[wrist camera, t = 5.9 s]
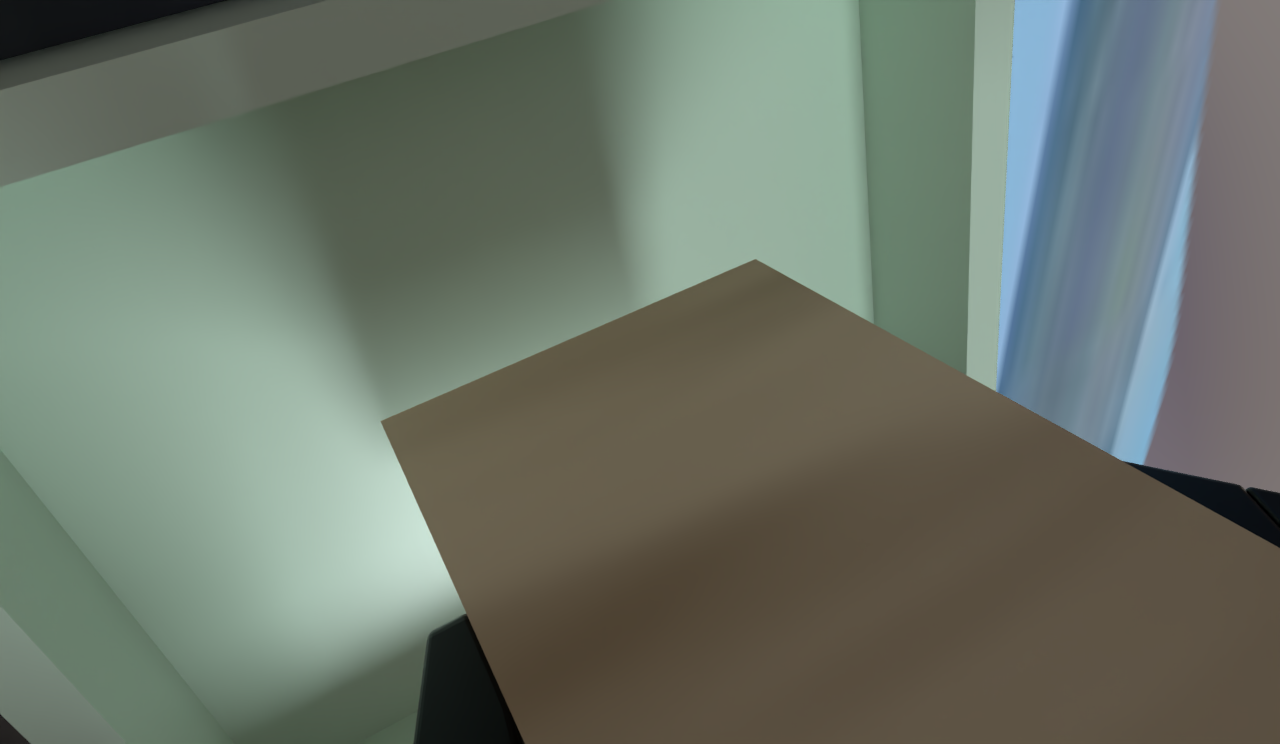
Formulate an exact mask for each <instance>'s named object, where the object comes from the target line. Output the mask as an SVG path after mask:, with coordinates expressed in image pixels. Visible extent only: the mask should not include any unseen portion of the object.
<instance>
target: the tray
mask: <svg viewBox="0 0 1280 744" xmlns="http://www.w3.org/2000/svg"><path fill="white" fill-rule="evenodd" d="M1014 6H1015V0H226V1H222V2H218V3H214V4H211V5H207V6H203V7H199V8H196V9H192V10H188V11H184V12H180V13H177V14H173V15H169V16H165V17H162V18H158V19H154V20H150V21H147V22H143V23H139V24H135V25H132V26H128V27H124V28H120V29H116V30H113V31H109V32H105V33H101V34H98V35H94V36H90V37H86V38H83V39H79V40H75V41H71V42H68V43H64V44H60V45H56V46H53V47H49V48H45V49H41V50H37V51H34V52H30V53H26V54H22V55H19V56H15V57H11V58H7V59H4V60H0V714H1V715H2V716H3V717H4V718H5V719H6V720H7V721H8V722H9V723H10V724H11V725H12V726H13V727H14V728H15V729H16V730H17V731H18V732H19V733H20V734H21V735H22V736H23V737H24V738H25V739H26V740H27V741H28V742H29V743H30V744H413V741H414V734H415V726H416V718H417V710H418V703H419V695H420V687H421V680H422V672H423V664H424V657H425V649H426V642H427V638H428V635H429V634H430V632H431V631H432V630H434V629H436V628H438V627H440V626H441V625H443V624H445V623H447V622H449V621H451V620H453V619H455V618H457V617H459V616H461V615H463V614H467V613H466V611H465V609H464V607H463V605H462V602H461V600H460V598H459V596H458V593H457V591H456V589H455V587H454V584H453V582H452V580H451V578H450V576H449V573H448V571H447V569H446V567H445V564H444V562H443V560H442V558H441V555H440V553H439V551H438V549H437V546H436V544H435V542H434V540H433V538H432V535H431V533H430V531H429V529H428V526H427V524H426V522H425V520H424V517H423V515H422V513H421V511H420V508H419V506H418V504H417V502H416V500H415V497H414V495H413V493H412V491H411V488H410V486H409V484H408V482H407V479H406V477H405V475H404V473H403V471H402V468H401V466H400V464H399V462H398V459H397V457H396V455H395V453H394V450H393V448H392V446H391V444H390V441H389V439H388V437H387V435H386V433H385V430H384V428H383V426H382V424H381V421H382V420H384V419H387V418H389V417H391V416H393V415H396V414H398V413H400V412H403V411H405V410H407V409H410V408H412V407H414V406H417V405H419V404H421V403H424V402H426V401H428V400H430V399H433V398H435V397H437V396H440V395H442V394H444V393H447V392H449V391H451V390H454V389H456V388H458V387H460V386H463V385H465V384H467V383H470V382H472V381H474V380H477V379H479V378H481V377H484V376H486V375H488V374H491V373H493V372H495V371H497V370H500V369H502V368H504V367H507V366H509V365H511V364H514V363H516V362H518V361H521V360H523V359H525V358H528V357H530V356H532V355H534V354H537V353H539V352H541V351H544V350H546V349H548V348H551V347H553V346H555V345H558V344H560V343H562V342H565V341H567V340H569V339H571V338H574V337H576V336H578V335H581V334H583V333H585V332H588V331H590V330H592V329H595V328H597V327H599V326H602V325H604V324H606V323H608V322H611V321H613V320H615V319H618V318H620V317H622V316H625V315H627V314H629V313H632V312H634V311H636V310H638V309H641V308H643V307H645V306H648V305H650V304H652V303H655V302H657V301H659V300H662V299H664V298H666V297H669V296H671V295H673V294H675V293H678V292H680V291H682V290H685V289H687V288H689V287H692V286H694V285H696V284H699V283H701V282H703V281H706V280H708V279H710V278H712V277H715V276H717V275H719V274H722V273H724V272H726V271H729V270H731V269H733V268H736V267H738V266H740V265H743V264H745V263H747V262H749V261H752V260H754V259H757V260H758V261H760V262H762V263H764V264H766V265H767V266H769V267H771V268H773V269H775V270H777V271H778V272H780V273H782V274H784V275H786V276H787V277H789V278H791V279H793V280H795V281H796V282H798V283H800V284H802V285H804V286H806V287H807V288H809V289H811V290H813V291H815V292H816V293H818V294H820V295H822V296H824V297H825V298H827V299H829V300H831V301H833V302H835V303H836V304H838V305H840V306H842V307H844V308H845V309H847V310H849V311H851V312H853V313H854V314H856V315H858V316H860V317H862V318H864V319H865V320H867V321H869V322H871V323H873V324H874V325H876V326H878V327H880V328H882V329H883V330H885V331H887V332H889V333H891V334H893V335H894V336H896V337H898V338H900V339H902V340H903V341H905V342H907V343H909V344H911V345H913V346H914V347H916V348H918V349H920V350H922V351H923V352H925V353H927V354H929V355H931V356H932V357H934V358H936V359H938V360H940V361H942V362H943V363H945V364H947V365H949V366H951V367H952V368H954V369H956V370H958V371H960V372H961V373H963V374H965V375H967V376H969V377H971V378H972V379H974V380H976V381H978V382H980V383H981V384H983V385H985V386H987V387H989V388H990V389H992V390H994V391H996V376H997V355H998V335H999V314H1000V294H1001V273H1002V252H1003V232H1004V211H1005V191H1006V170H1007V150H1008V129H1009V108H1010V88H1011V67H1012V47H1013V26H1014Z"/></svg>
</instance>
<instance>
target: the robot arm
mask: <svg viewBox="0 0 1280 744" xmlns="http://www.w3.org/2000/svg"><path fill="white" fill-rule="evenodd" d="M1123 462H1125V461H1123ZM1125 463H1126V464H1128V465H1130V466H1132V467H1134V468H1136V469H1137V470H1139V471H1141V472H1143V473H1145V474H1146V475H1148V476H1150V477H1152V478H1154V479H1155V480H1157V481H1159V482H1161V483H1163V484H1165V485H1166V486H1168V487H1170V488H1172V489H1174V490H1175V491H1177V492H1179V493H1181V494H1183V495H1184V496H1186V497H1188V498H1190V499H1192V500H1194V501H1195V502H1197V503H1199V504H1201V505H1203V506H1204V507H1206V508H1208V509H1210V510H1212V511H1213V512H1215V513H1217V514H1219V515H1221V516H1223V517H1224V518H1226V519H1228V520H1230V521H1232V522H1233V523H1235V524H1237V525H1239V526H1241V527H1243V528H1244V529H1246V530H1248V531H1250V532H1252V533H1253V534H1255V535H1257V536H1259V537H1261V538H1262V539H1264V540H1266V541H1268V542H1270V543H1272V544H1273V545H1275V546H1277V547H1279V548H1280V493H1277V492H1272V491H1267V490H1262V489H1258V488H1253V487H1250V488H1247V489H1246V490H1245V489H1244V488H1243V487H1241V486H1240V485H1237V484H1232V483H1227V482H1222V481H1218V480H1212V479H1208V478H1202V477H1198V476H1193V475H1188V474H1183V473H1178V472H1174V471H1169V470H1163V469H1158V468H1153V467H1149V466H1144V465H1139V464H1134V463H1129V462H1125ZM413 744H525V743H524V741H523V739H522V736H521V734H520V732H519V730H518V727H517V725H516V723H515V721H514V718H513V716H512V714H511V712H510V710H509V707H508V705H507V703H506V701H505V698H504V696H503V694H502V692H501V689H500V687H499V685H498V683H497V680H496V678H495V676H494V674H493V672H492V669H491V667H490V665H489V663H488V660H487V658H486V656H485V654H484V651H483V649H482V647H481V645H480V643H479V640H478V638H477V636H476V634H475V631H474V629H473V627H472V625H471V622H470V620H469V618H468V616H467V614H463V615H461V616H459V617H457V618H455V619H453V620H451V621H449V622H447V623H445V624H443V625H441V626H440V627H438V628H436V629H434V630H432V631H431V632H430V634H429V635H428V638H427V642H426V649H425V657H424V664H423V672H422V680H421V687H420V695H419V703H418V710H417V718H416V726H415V734H414V741H413Z"/></svg>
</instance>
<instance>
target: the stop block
mask: <svg viewBox="0 0 1280 744" xmlns="http://www.w3.org/2000/svg"><path fill="white" fill-rule="evenodd" d="M381 424H382V426H383V428H384V430H385V433H386V435H387V437H388V439H389V441H390V444H391V446H392V448H393V450H394V453H395V455H396V457H397V459H398V462H399V464H400V466H401V468H402V471H403V473H404V475H405V477H406V479H407V482H408V484H409V486H410V488H411V491H412V493H413V495H414V497H415V500H416V502H417V504H418V506H419V508H420V511H421V513H422V515H423V517H424V520H425V522H426V524H427V526H428V529H429V531H430V533H431V535H432V538H433V540H434V542H435V544H436V546H437V549H438V551H439V553H440V555H441V558H442V560H443V562H444V564H445V567H446V569H447V571H448V573H449V576H450V578H451V580H452V582H453V584H454V587H455V589H456V591H457V593H458V596H459V598H460V600H461V602H462V605H463V607H464V609H465V611H466V613H467V616H468V618H469V620H470V622H471V625H472V627H473V629H474V631H475V634H476V636H477V638H478V640H479V643H480V645H481V647H482V649H483V651H484V654H485V656H486V658H487V660H488V663H489V665H490V667H491V669H492V672H493V674H494V676H495V678H496V680H497V683H498V685H499V687H500V689H501V692H502V694H503V696H504V698H505V701H506V703H507V705H508V707H509V710H510V712H511V714H512V716H513V718H514V721H515V723H516V725H517V727H518V730H519V732H520V734H521V736H522V739H523V741H524V743H525V744H1280V548H1279V547H1277V546H1275V545H1273V544H1272V543H1270V542H1268V541H1266V540H1264V539H1262V538H1261V537H1259V536H1257V535H1255V534H1253V533H1252V532H1250V531H1248V530H1246V529H1244V528H1243V527H1241V526H1239V525H1237V524H1235V523H1233V522H1232V521H1230V520H1228V519H1226V518H1224V517H1223V516H1221V515H1219V514H1217V513H1215V512H1213V511H1212V510H1210V509H1208V508H1206V507H1204V506H1203V505H1201V504H1199V503H1197V502H1195V501H1194V500H1192V499H1190V498H1188V497H1186V496H1184V495H1183V494H1181V493H1179V492H1177V491H1175V490H1174V489H1172V488H1170V487H1168V486H1166V485H1165V484H1163V483H1161V482H1159V481H1157V480H1155V479H1154V478H1152V477H1150V476H1148V475H1146V474H1145V473H1143V472H1141V471H1139V470H1137V469H1136V468H1134V467H1132V466H1130V465H1128V464H1126V463H1125V462H1123V461H1121V460H1119V459H1117V458H1116V457H1114V456H1112V455H1110V454H1108V453H1107V452H1105V451H1103V450H1101V449H1099V448H1097V447H1096V446H1094V445H1092V444H1090V443H1088V442H1087V441H1085V440H1083V439H1081V438H1079V437H1078V436H1076V435H1074V434H1072V433H1070V432H1068V431H1067V430H1065V429H1063V428H1061V427H1059V426H1058V425H1056V424H1054V423H1052V422H1050V421H1048V420H1047V419H1045V418H1043V417H1041V416H1039V415H1038V414H1036V413H1034V412H1032V411H1030V410H1029V409H1027V408H1025V407H1023V406H1021V405H1019V404H1018V403H1016V402H1014V401H1012V400H1010V399H1009V398H1007V397H1005V396H1003V395H1001V394H1000V393H998V392H996V391H994V390H992V389H990V388H989V387H987V386H985V385H983V384H981V383H980V382H978V381H976V380H974V379H972V378H971V377H969V376H967V375H965V374H963V373H961V372H960V371H958V370H956V369H954V368H952V367H951V366H949V365H947V364H945V363H943V362H942V361H940V360H938V359H936V358H934V357H932V356H931V355H929V354H927V353H925V352H923V351H922V350H920V349H918V348H916V347H914V346H913V345H911V344H909V343H907V342H905V341H903V340H902V339H900V338H898V337H896V336H894V335H893V334H891V333H889V332H887V331H885V330H883V329H882V328H880V327H878V326H876V325H874V324H873V323H871V322H869V321H867V320H865V319H864V318H862V317H860V316H858V315H856V314H854V313H853V312H851V311H849V310H847V309H845V308H844V307H842V306H840V305H838V304H836V303H835V302H833V301H831V300H829V299H827V298H825V297H824V296H822V295H820V294H818V293H816V292H815V291H813V290H811V289H809V288H807V287H806V286H804V285H802V284H800V283H798V282H796V281H795V280H793V279H791V278H789V277H787V276H786V275H784V274H782V273H780V272H778V271H777V270H775V269H773V268H771V267H769V266H767V265H766V264H764V263H762V262H760V261H758V260H757V259H754V260H752V261H749V262H747V263H745V264H743V265H740V266H738V267H736V268H733V269H731V270H729V271H726V272H724V273H722V274H719V275H717V276H715V277H712V278H710V279H708V280H706V281H703V282H701V283H699V284H696V285H694V286H692V287H689V288H687V289H685V290H682V291H680V292H678V293H675V294H673V295H671V296H669V297H666V298H664V299H662V300H659V301H657V302H655V303H652V304H650V305H648V306H645V307H643V308H641V309H638V310H636V311H634V312H632V313H629V314H627V315H625V316H622V317H620V318H618V319H615V320H613V321H611V322H608V323H606V324H604V325H602V326H599V327H597V328H595V329H592V330H590V331H588V332H585V333H583V334H581V335H578V336H576V337H574V338H571V339H569V340H567V341H565V342H562V343H560V344H558V345H555V346H553V347H551V348H548V349H546V350H544V351H541V352H539V353H537V354H534V355H532V356H530V357H528V358H525V359H523V360H521V361H518V362H516V363H514V364H511V365H509V366H507V367H504V368H502V369H500V370H497V371H495V372H493V373H491V374H488V375H486V376H484V377H481V378H479V379H477V380H474V381H472V382H470V383H467V384H465V385H463V386H460V387H458V388H456V389H454V390H451V391H449V392H447V393H444V394H442V395H440V396H437V397H435V398H433V399H430V400H428V401H426V402H424V403H421V404H419V405H417V406H414V407H412V408H410V409H407V410H405V411H403V412H400V413H398V414H396V415H393V416H391V417H389V418H387V419H384V420H382V421H381Z"/></svg>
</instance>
